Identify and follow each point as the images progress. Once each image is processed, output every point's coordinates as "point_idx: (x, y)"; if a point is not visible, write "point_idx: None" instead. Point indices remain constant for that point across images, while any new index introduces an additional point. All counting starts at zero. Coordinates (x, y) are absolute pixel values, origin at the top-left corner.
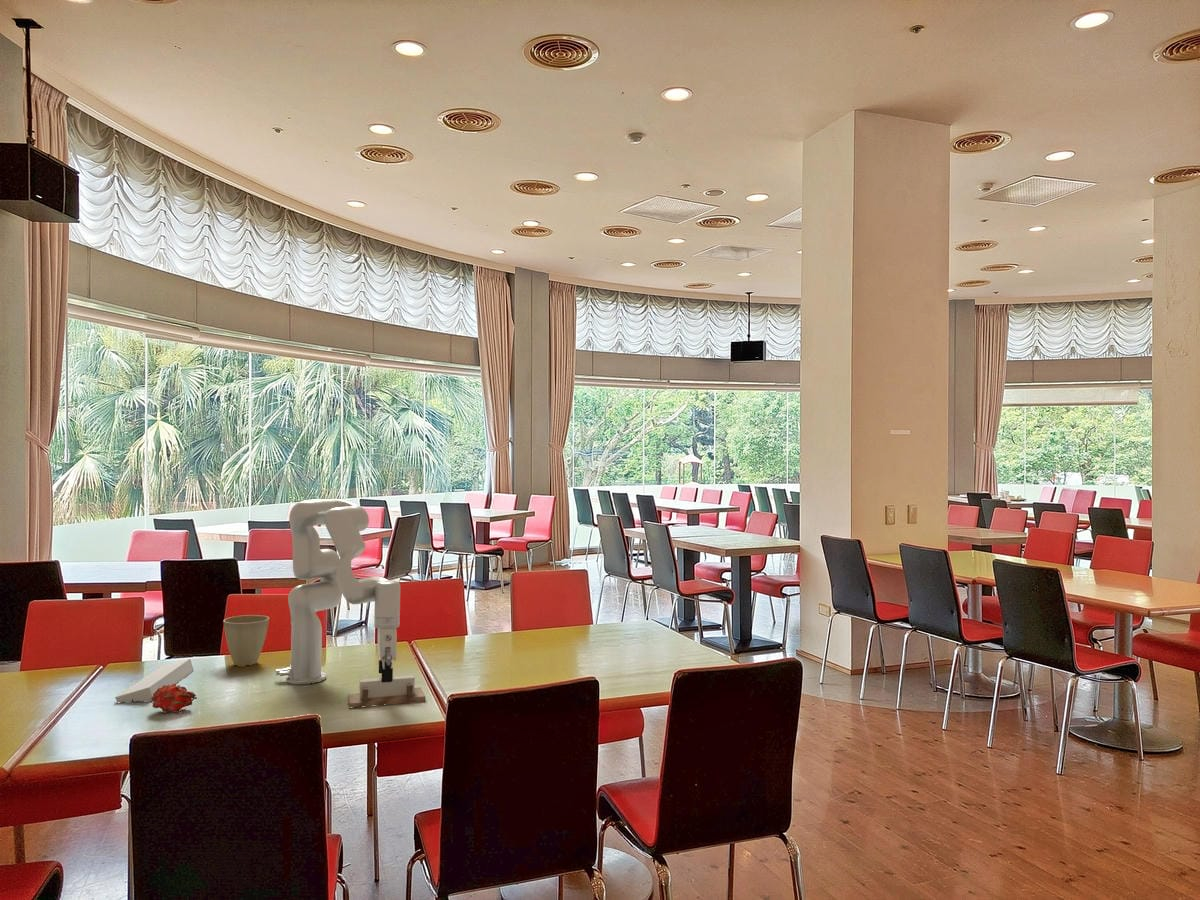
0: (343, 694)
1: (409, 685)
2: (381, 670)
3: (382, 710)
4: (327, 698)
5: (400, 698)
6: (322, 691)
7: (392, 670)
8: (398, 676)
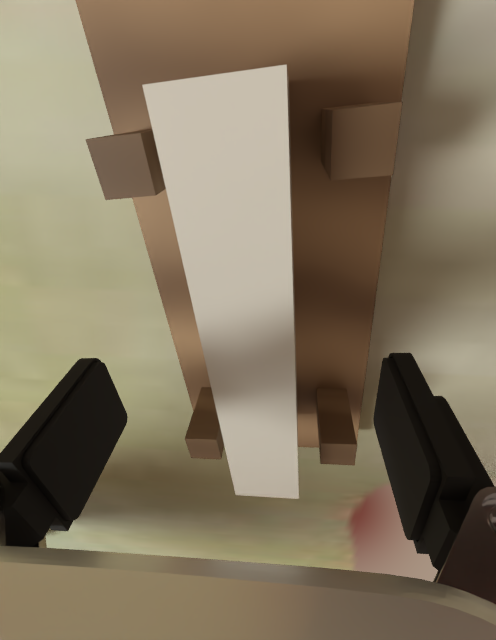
0: (143, 431)
1: (396, 147)
2: (112, 424)
3: (462, 313)
4: (190, 469)
5: (381, 214)
6: (106, 473)
7: (463, 454)
8: (194, 279)
